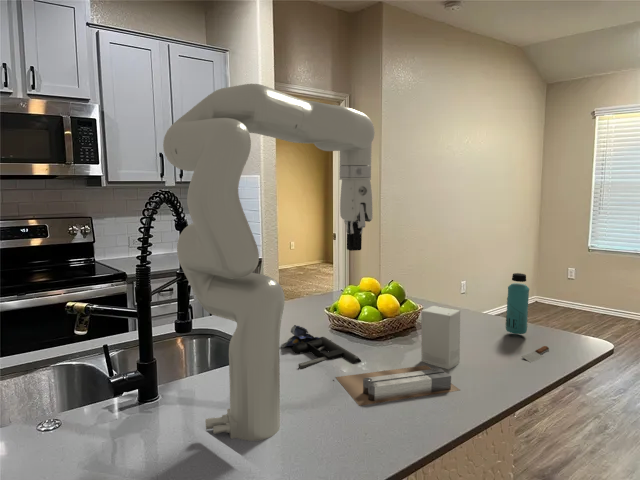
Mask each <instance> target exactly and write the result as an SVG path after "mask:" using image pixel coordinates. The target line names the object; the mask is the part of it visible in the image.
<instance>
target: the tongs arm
mask: <svg viewBox="0 0 640 480" xmlns="http://www.w3.org/2000/svg"><path fill="white" fill-rule="evenodd" d="M445 372H446V371H445V370H443V368H442V367H438V368H437V367H436V368H431V369H429V370H421V371H416V372H408V373H400V374H392V375H385V376H377V377H369V378H364V379H363V393H364V394H368V384H369V383H375V382H382V381H390V380H397V379H404V378H411V377H418V376H426V375H431V374H438V373H445Z"/></svg>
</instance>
